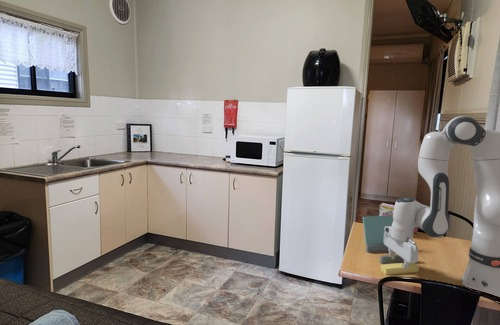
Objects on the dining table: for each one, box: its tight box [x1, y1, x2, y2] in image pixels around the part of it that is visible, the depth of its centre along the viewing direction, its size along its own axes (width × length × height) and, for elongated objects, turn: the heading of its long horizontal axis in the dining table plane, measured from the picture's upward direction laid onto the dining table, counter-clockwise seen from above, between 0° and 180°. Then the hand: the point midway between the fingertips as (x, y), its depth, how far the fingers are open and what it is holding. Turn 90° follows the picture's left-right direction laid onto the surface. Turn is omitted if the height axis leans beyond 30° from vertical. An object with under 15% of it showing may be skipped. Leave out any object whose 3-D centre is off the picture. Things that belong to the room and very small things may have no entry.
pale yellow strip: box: [380, 262, 420, 276], centre depth 143 cm, size 4×16×3 cm, turn 100°
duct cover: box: [362, 215, 393, 246], centre depth 166 cm, size 14×18×1 cm
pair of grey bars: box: [365, 244, 405, 265], centre depth 157 cm, size 14×18×4 cm
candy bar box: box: [378, 202, 395, 216], centre depth 188 cm, size 11×5×16 cm, turn 48°
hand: (398, 263), depth 144 cm, fingers open, 8 cm apart
